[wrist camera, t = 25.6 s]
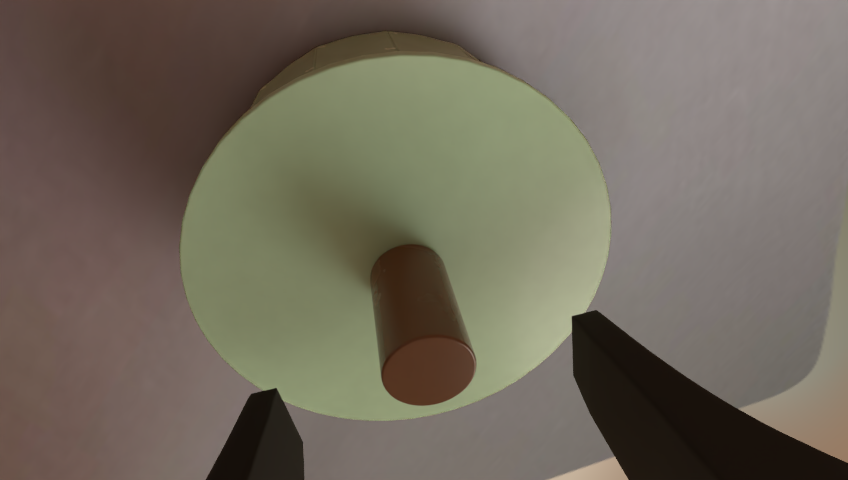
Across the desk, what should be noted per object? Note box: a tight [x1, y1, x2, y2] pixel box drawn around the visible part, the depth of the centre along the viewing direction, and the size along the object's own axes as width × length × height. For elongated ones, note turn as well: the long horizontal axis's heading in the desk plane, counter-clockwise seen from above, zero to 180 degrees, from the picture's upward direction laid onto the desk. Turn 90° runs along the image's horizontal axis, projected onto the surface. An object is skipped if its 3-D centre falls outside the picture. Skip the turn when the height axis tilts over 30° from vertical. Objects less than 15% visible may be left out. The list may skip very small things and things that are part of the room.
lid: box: [179, 51, 611, 421], centre depth 15 cm, size 13×13×5 cm
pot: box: [250, 31, 483, 109], centre depth 19 cm, size 12×12×5 cm
